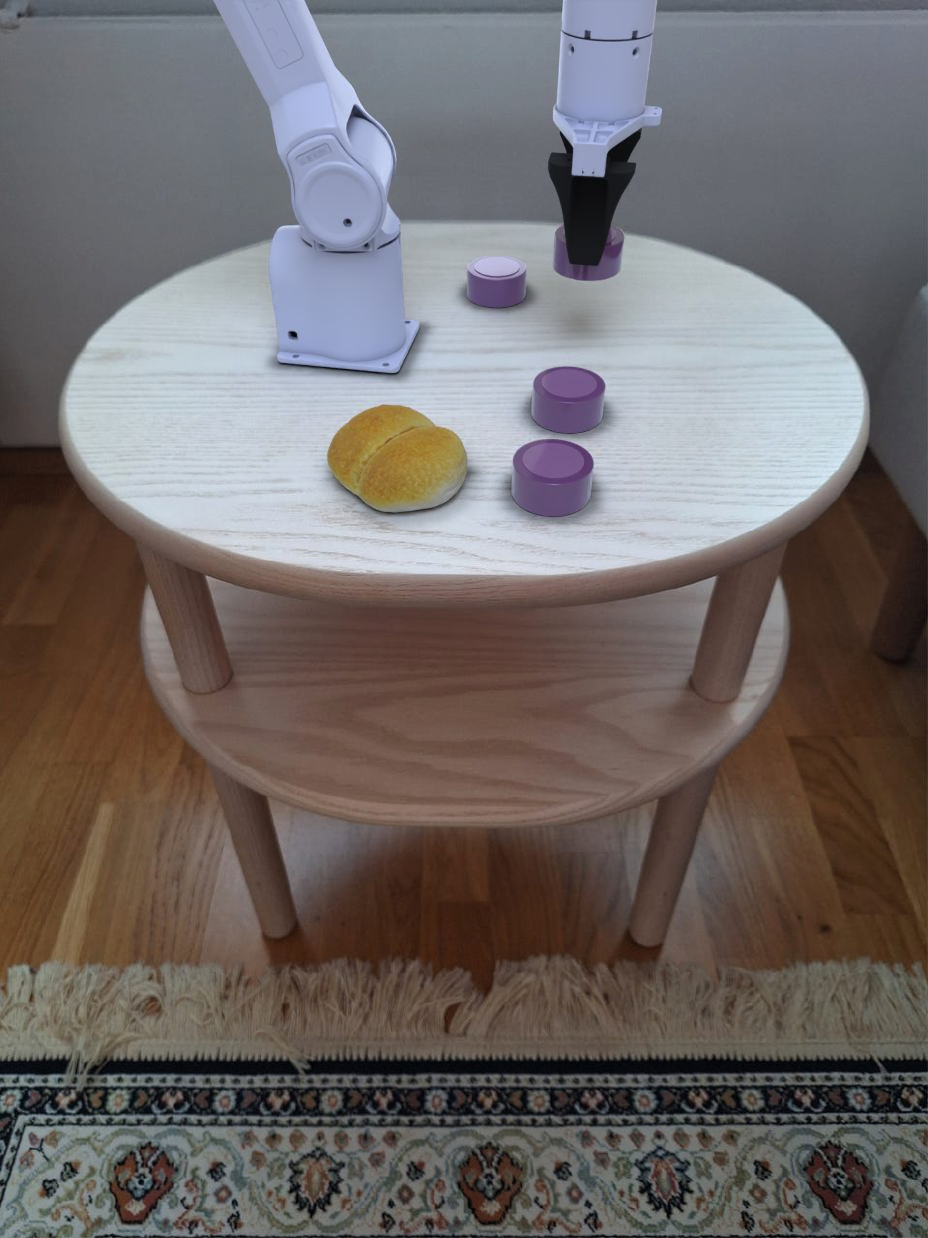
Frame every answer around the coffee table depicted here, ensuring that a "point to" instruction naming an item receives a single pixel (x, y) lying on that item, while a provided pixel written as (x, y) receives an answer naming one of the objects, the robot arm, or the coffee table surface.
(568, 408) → the plum dish
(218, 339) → the coffee table surface
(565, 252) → the plum dish
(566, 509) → the plum dish front
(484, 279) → the purple short cylinder
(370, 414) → the bread roll
